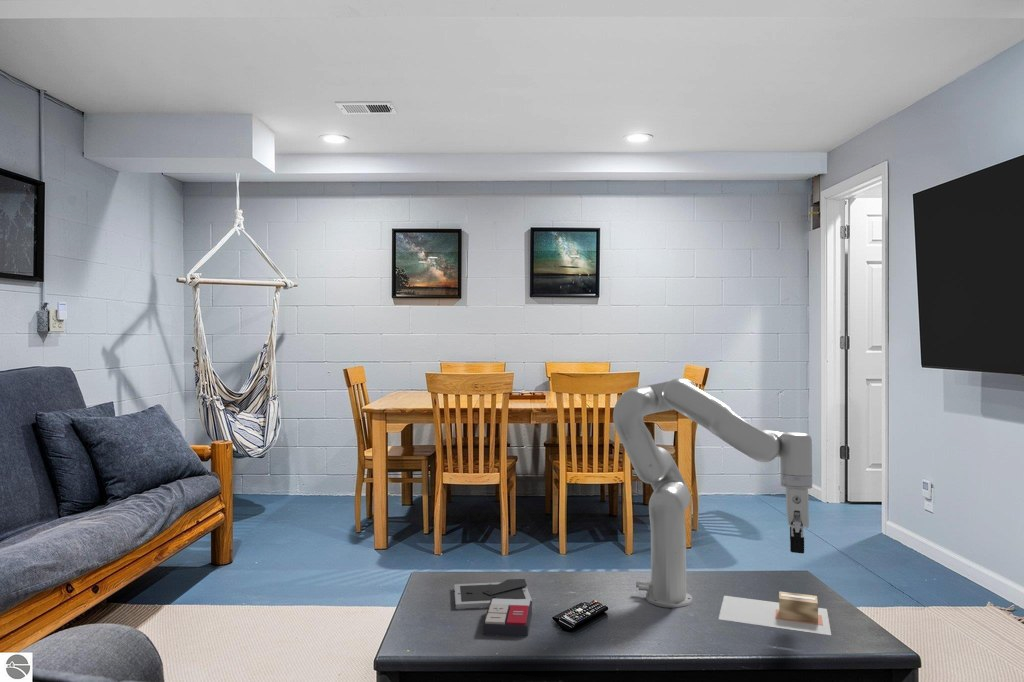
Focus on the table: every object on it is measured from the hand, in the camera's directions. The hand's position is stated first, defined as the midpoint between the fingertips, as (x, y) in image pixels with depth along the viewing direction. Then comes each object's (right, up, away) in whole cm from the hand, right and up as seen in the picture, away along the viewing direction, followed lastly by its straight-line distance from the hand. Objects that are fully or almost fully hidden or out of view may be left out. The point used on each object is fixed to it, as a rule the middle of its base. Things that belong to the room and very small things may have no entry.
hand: (796, 547), depth 169 cm
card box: (0, -18, -1) cm, 18 cm away
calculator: (-74, -19, -3) cm, 77 cm away
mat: (-5, -18, +2) cm, 19 cm away
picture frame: (-79, -20, +16) cm, 83 cm away
